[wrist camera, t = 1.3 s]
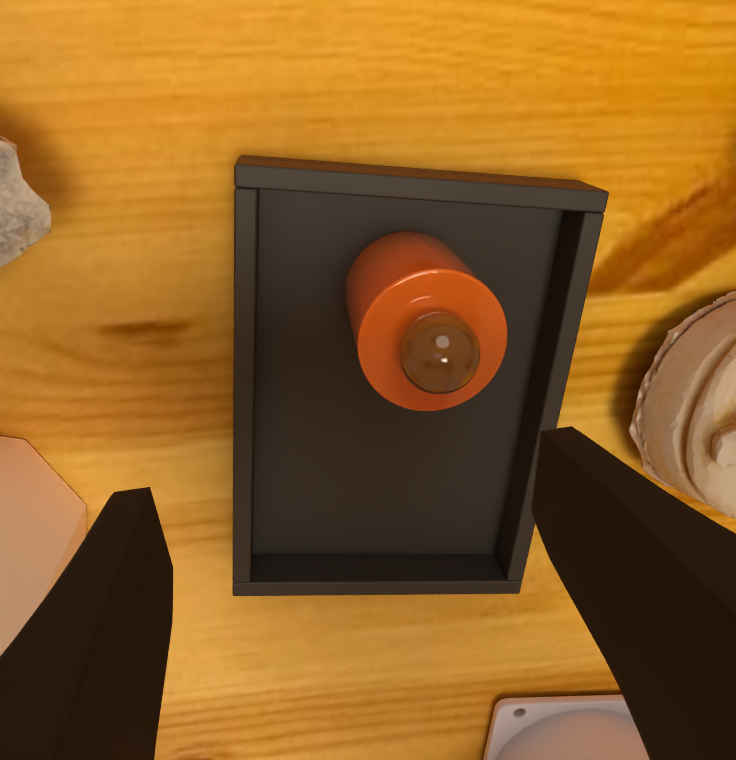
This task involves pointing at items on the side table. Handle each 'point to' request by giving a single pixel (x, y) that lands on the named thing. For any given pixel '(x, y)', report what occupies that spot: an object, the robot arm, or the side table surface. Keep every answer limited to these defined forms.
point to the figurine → (693, 408)
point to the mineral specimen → (18, 208)
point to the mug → (32, 533)
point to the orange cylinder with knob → (423, 322)
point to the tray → (371, 410)
